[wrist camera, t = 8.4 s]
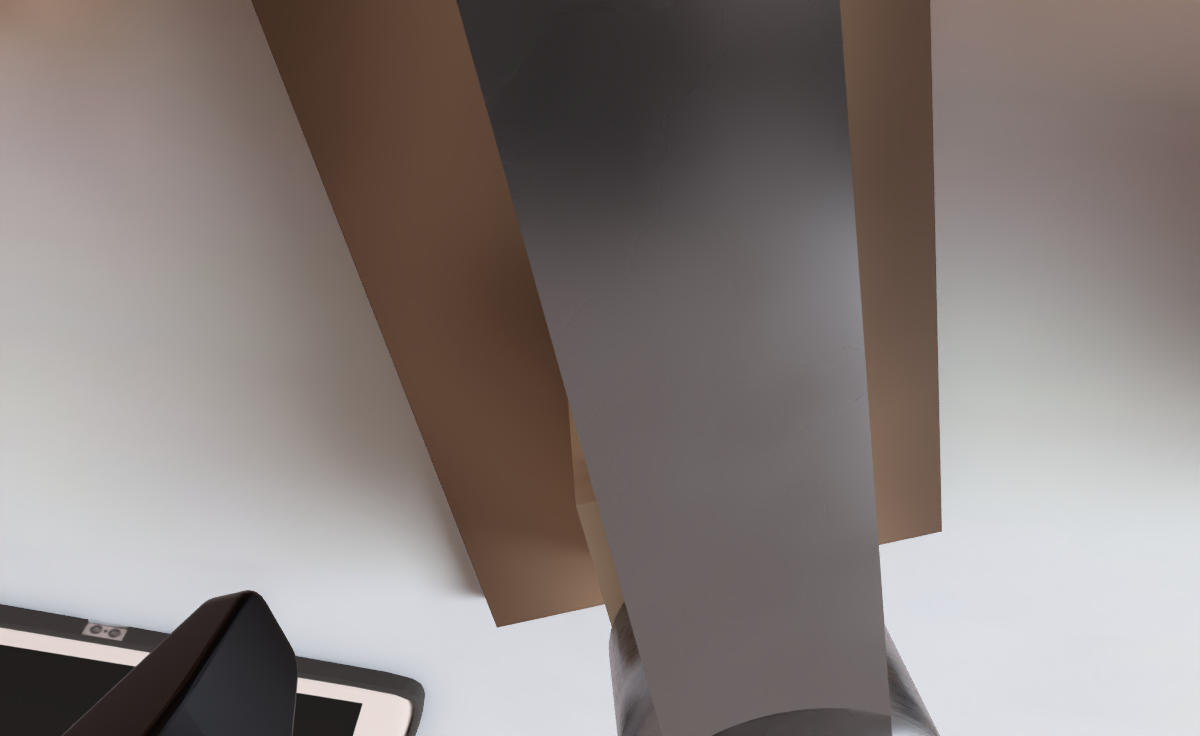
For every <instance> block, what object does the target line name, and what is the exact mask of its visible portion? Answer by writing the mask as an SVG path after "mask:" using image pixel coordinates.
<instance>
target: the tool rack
mask: <svg viewBox="0 0 1200 736" xmlns="http://www.w3.org/2000/svg"><path fill="white" fill-rule="evenodd" d="M251 1H252V3H253V6H254V8H255V11H256V13H257V16H258V18H259V21H260V24H261V26H262V29H263V31H264V34H265V36H266V39H267V41H268V44H269V46H270V49H271V52H272V54H273V57H274V59H275V62H276V64H277V67H278V69H279V72H280V75H281V77H282V80H283V82H284V85H285V87H286V90H287V92H288V95H289V98H290V100H291V103H292V105H293V108H294V110H295V113H296V115H297V118H298V120H299V123H300V126H301V128H302V131H303V133H304V136H305V138H306V141H307V143H308V146H309V149H310V151H311V154H312V156H313V159H314V161H315V164H316V166H317V169H318V172H319V174H320V177H321V179H322V182H323V184H324V187H325V189H326V192H327V195H328V197H329V200H330V202H331V205H332V207H333V210H334V212H335V215H336V217H337V220H338V223H339V225H340V228H341V230H342V233H343V235H344V238H345V240H346V243H347V246H348V248H349V251H350V253H351V256H352V258H353V261H354V263H355V266H356V269H357V271H358V274H359V276H360V279H361V281H362V284H363V286H364V289H365V292H366V294H367V297H368V299H369V302H370V304H371V307H372V309H373V312H374V314H375V317H376V320H377V322H378V325H379V327H380V330H381V332H382V335H383V337H384V340H385V343H386V345H387V348H388V350H389V353H390V355H391V358H392V360H393V363H394V366H395V368H396V371H397V373H398V376H399V378H400V381H401V383H402V386H403V389H404V391H405V394H406V396H407V399H408V401H409V404H410V406H411V409H412V411H413V414H414V417H415V419H416V422H417V424H418V427H419V429H420V432H421V434H422V437H423V440H424V442H425V445H426V447H427V450H428V452H429V455H430V457H431V460H432V463H433V465H434V468H435V470H436V473H437V475H438V478H439V480H440V483H441V485H442V488H443V491H444V493H445V496H446V498H447V501H448V503H449V506H450V508H451V511H452V514H453V516H454V519H455V521H456V524H457V526H458V529H459V531H460V534H461V537H462V539H463V542H464V544H465V547H466V549H467V552H468V554H469V557H470V560H471V562H472V565H473V567H474V570H475V572H476V575H477V577H478V580H479V582H480V585H481V588H482V590H483V593H484V595H485V598H486V600H487V603H488V605H489V608H490V611H491V613H492V616H493V618H494V621H495V623H496V626H497V627H501V626H506V625H511V624H515V623H520V622H524V621H529V620H534V619H538V618H543V617H548V616H552V615H557V614H561V613H566V612H571V611H575V610H580V609H585V608H589V607H594V606H598V605H603V604H605V605H606V609H607V612H608V615H609V619H610V622H611V625H612V626H613V623H614V620H615V617H616V616H617V614H618V612H619V610H620V608H621V606H622V604H623V603H624V602H625V601H624V597H623V594H622V590H621V587H620V583H619V579H618V576H617V572H616V569H615V565H614V562H613V558H612V555H611V551H610V547H609V544H608V540H607V537H606V533H605V530H604V526H603V522H602V519H601V515H600V512H599V508H598V505H597V501H596V497H595V494H594V490H593V487H592V483H591V480H590V476H589V472H588V469H587V465H586V462H585V458H584V455H583V451H582V447H581V444H580V440H579V437H578V433H577V430H576V426H575V422H574V419H573V415H572V412H571V408H570V405H569V401H568V397H567V394H566V390H565V387H564V383H563V380H562V376H561V373H560V369H559V365H558V362H557V358H556V355H555V351H554V348H553V344H552V340H551V337H550V333H549V330H548V326H547V323H546V319H545V315H544V312H543V308H542V305H541V301H540V298H539V294H538V290H537V287H536V283H535V280H534V276H533V273H532V269H531V265H530V262H529V258H528V255H527V251H526V248H525V244H524V240H523V237H522V233H521V230H520V226H519V223H518V219H517V215H516V212H515V208H514V205H513V201H512V198H511V194H510V191H509V187H508V183H507V180H506V176H505V173H504V169H503V166H502V162H501V158H500V155H499V151H498V148H497V144H496V141H495V137H494V133H493V130H492V126H491V123H490V119H489V116H488V112H487V108H486V105H485V101H484V98H483V94H482V91H481V87H480V83H479V80H478V76H477V73H476V69H475V66H474V62H473V58H472V55H471V51H470V48H469V44H468V41H467V37H466V33H465V30H464V26H463V23H462V19H461V16H460V12H459V9H458V5H457V1H456V0H251ZM840 11H841V25H842V39H843V53H844V67H845V81H846V95H847V109H848V123H849V137H850V151H851V165H852V179H853V193H854V207H855V221H856V235H857V249H858V263H859V277H860V291H861V305H862V319H863V333H864V347H865V361H866V375H867V389H868V403H869V417H870V431H871V445H872V459H873V474H874V488H875V502H876V516H877V530H878V544H879V545H881V544H885V543H890V542H894V541H899V540H904V539H908V538H913V537H918V536H922V535H927V534H932V533H936V532H941V531H942V522H941V477H940V432H939V387H938V342H937V298H936V253H935V208H934V163H933V118H932V74H931V29H930V0H840Z"/></svg>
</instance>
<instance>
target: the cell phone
mask: <svg viewBox="0 0 1200 736" xmlns="http://www.w3.org/2000/svg"><path fill="white" fill-rule="evenodd" d="M169 635H170V634H167V633H161V632H156V631H150V630H144V629H139V628H133V627H129V628H128V630H126V629H120V628H115V627H109V626H103V625H97V624H92V623H88V619H82V618H76V617H70V616H65V615H59V614H53V613H47V612H42V611H36V610H30V609H24V608H18V607H13V606H7V605H1V604H0V736H61V735H62V734H64V733H65V732H66V731H67V730H68V729H69V728H70V727H71V726H72V725H73V724H74V723H75V722H76V721H78V720H79V719H80V718H81V717H82V716H83V715H84V714H85V713H86V712H87V711H88V710H89V709H90V708H92V707H93V706H94V705H95V704H96V703H97V702H98V701H99V700H100V699H101V698H102V697H103V696H104V695H105V694H107V693H108V692H109V691H110V690H111V689H112V688H113V687H114V686H115V685H116V684H117V683H118V682H119V681H121V680H122V679H123V678H124V677H125V676H126V675H127V674H128V673H129V672H130V671H131V670H132V669H133V668H134V667H136V666H137V665H138V664H139V663H140V662H141V661H142V660H143V659H144V658H145V657H146V656H147V655H148V654H150V653H151V652H152V651H153V650H154V649H155V648H156V647H157V646H158V645H159V644H160V643H161V642H162V641H164V640H165V639H166V638H167V637H168V636H169ZM295 657H296V661H297V666H298V682H297V693H296V703H295V714H294V725H293V735H292V736H415V735H416V732H417V729H418V726H419V723H420V720H421V716H422V712H423V706H424V697H425V693H424V689H423V687H422V685H421V684H420V683H419V682H417V681H415V680H414V679H411V678H407V677H403V676H400V675H396V674H392V673H388V672H383V671H377V670H372V669H366V668H360V667H354V666H349V665H343V664H337V663H332V662H326V661H320V660H315V659H309V658H303V657H298V656H295ZM413 713H414V714H413Z"/></svg>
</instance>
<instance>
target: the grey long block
mask: <svg viewBox="0 0 1200 736" xmlns="http://www.w3.org/2000/svg"><path fill="white" fill-rule="evenodd" d="M456 1H457V5H458V9H459V12H460V16H461V19H462V23H463V26H464V30H465V33H466V37H467V41H468V44H469V48H470V51H471V55H472V58H473V62H474V66H475V69H476V73H477V76H478V80H479V83H480V87H481V91H482V94H483V98H484V101H485V105H486V108H487V112H488V116H489V119H490V123H491V126H492V130H493V133H494V137H495V141H496V144H497V148H498V151H499V155H500V158H501V162H502V166H503V169H504V173H505V176H506V180H507V183H508V187H509V191H510V194H511V198H512V201H513V205H514V208H515V212H516V215H517V219H518V223H519V226H520V230H521V233H522V237H523V240H524V244H525V248H526V251H527V255H528V258H529V262H530V265H531V269H532V273H533V276H534V280H535V283H536V287H537V290H538V294H539V298H540V301H541V305H542V308H543V312H544V315H545V319H546V323H547V326H548V330H549V333H550V337H551V340H552V344H553V348H554V351H555V355H556V358H557V362H558V365H559V369H560V373H561V376H562V380H563V383H564V387H565V390H566V394H567V397H568V401H569V405H570V408H571V412H572V415H573V419H574V422H575V426H576V430H577V433H578V437H579V440H580V444H581V447H582V451H583V455H584V458H585V462H586V465H587V469H588V472H589V476H590V480H591V483H592V487H593V490H594V494H595V497H596V501H597V505H598V508H599V512H600V515H601V519H602V522H603V526H604V530H605V533H606V537H607V540H608V544H609V547H610V551H611V555H612V558H613V562H614V565H615V569H616V572H617V576H618V579H619V583H620V587H621V590H622V594H623V597H624V601H625V602H624V603H623V604H622V606H621V608H620V610H619V612H618V614H617V616H616V617H615V620H614V623H613V626H612V629H611V634H610V640H609V658H610V667H611V677H612V686H613V696H614V706H615V715H616V725H617V734H618V736H940V735H939V733H938V731H937V729H936V727H935V725H934V723H933V721H932V719H931V717H930V715H929V713H928V711H927V709H926V707H925V705H924V703H923V701H922V699H921V697H920V695H919V693H918V691H917V689H916V687H915V685H914V683H913V681H912V679H911V677H910V675H909V673H908V671H907V669H906V667H905V665H904V663H903V661H902V659H901V657H900V655H899V653H898V651H897V649H896V647H895V645H894V643H893V641H892V639H891V637H890V635H889V633H888V631H887V629H886V627H885V625H884V614H883V600H882V586H881V572H880V558H879V544H878V530H877V516H876V502H875V488H874V474H873V459H872V445H871V431H870V417H869V403H868V389H867V375H866V361H865V347H864V333H863V319H862V305H861V291H860V277H859V263H858V249H857V235H856V221H855V207H854V193H853V179H852V165H851V151H850V137H849V123H848V109H847V95H846V81H845V67H844V53H843V39H842V25H841V11H840V0H456Z"/></svg>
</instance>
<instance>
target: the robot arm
mask: <svg viewBox="0 0 1200 736" xmlns="http://www.w3.org/2000/svg"><path fill="white" fill-rule="evenodd" d="M297 682H298V666H297V661H296V657H295V654H294V651H293V649H292V647H291V645H290V643H289V642H288V640H287V638H286V636H285V635H284V633H283V631H282V629H281V628H280V626H279V624H278V622H277V621H276V619H275V617H274V615H273V614H272V612H271V610H270V608H269V607H268V605H267V603H266V602H265V600H264V599H263V597H262V596H261V595H259V594H258V593H257V592H254V591H250V590H246V591H241V592H237V593H233V594H228V595H224V596H219V597H215V598H212V599H210V600H208V601H206V602H205V603H203V604H202V605H201V606H200V607H199V608H198V609H197V610H196V611H195V612H194V613H193V614H191V615H190V616H189V617H188V618H187V619H186V620H185V621H184V622H183V623H182V624H181V625H180V626H179V627H177V628H176V629H175V630H174V631H173V632H172V633H171V634H170V635H169V636H168V637H167V638H166V639H165V640H164V641H162V642H161V643H160V644H159V645H158V646H157V647H156V648H155V649H154V650H153V651H152V652H151V653H150V654H148V655H147V656H146V657H145V658H144V659H143V660H142V661H141V662H140V663H139V664H138V665H137V666H136V667H134V668H133V669H132V670H131V671H130V672H129V673H128V674H127V675H126V676H125V677H124V678H123V679H122V680H121V681H119V682H118V683H117V684H116V685H115V686H114V687H113V688H112V689H111V690H110V691H109V692H108V693H107V694H105V695H104V696H103V697H102V698H101V699H100V700H99V701H98V702H97V703H96V704H95V705H94V706H93V707H92V708H90V709H89V710H88V711H87V712H86V713H85V714H84V715H83V716H82V717H81V718H80V719H79V720H78V721H76V722H75V723H74V724H73V725H72V726H71V727H70V728H69V729H68V730H67V731H66V732H65V733H64V734H62V735H61V736H292V735H293V725H294V714H295V703H296V693H297Z"/></svg>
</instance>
